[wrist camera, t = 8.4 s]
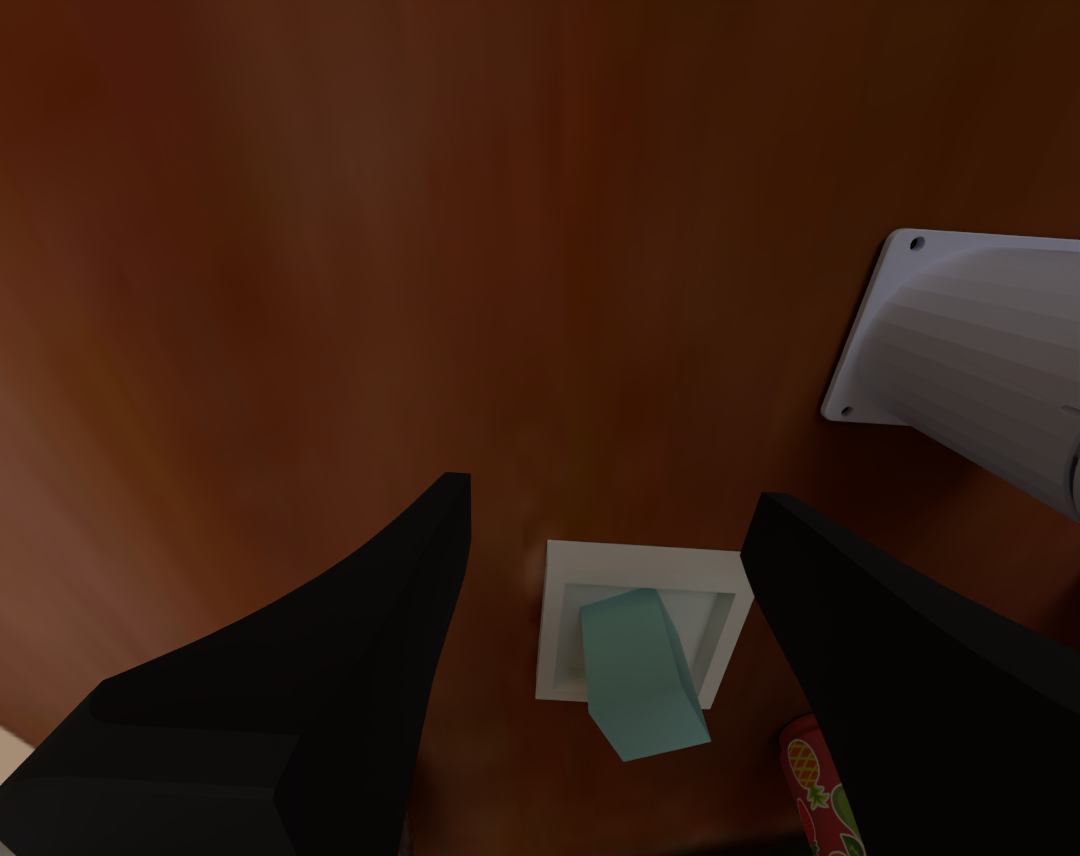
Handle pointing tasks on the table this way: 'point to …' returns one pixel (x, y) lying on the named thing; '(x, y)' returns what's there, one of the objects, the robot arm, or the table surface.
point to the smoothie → (818, 790)
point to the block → (639, 676)
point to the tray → (612, 569)
